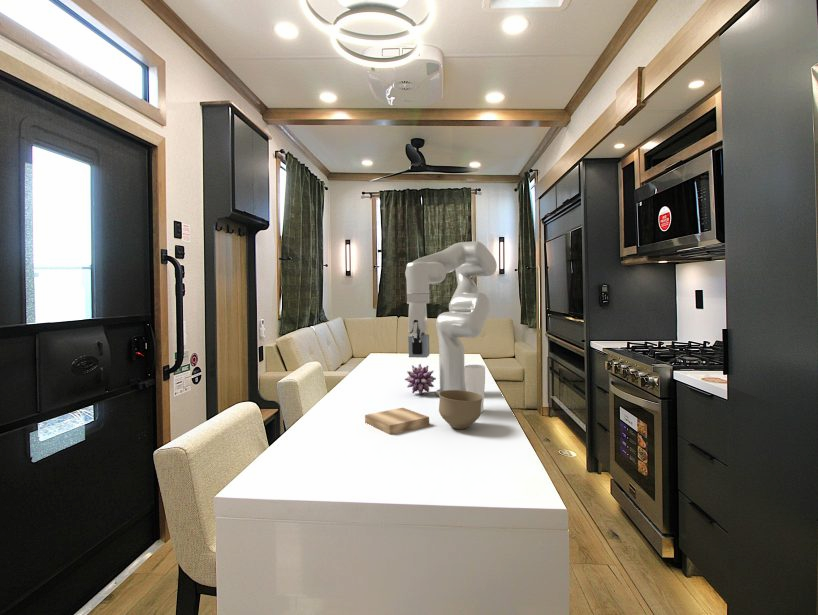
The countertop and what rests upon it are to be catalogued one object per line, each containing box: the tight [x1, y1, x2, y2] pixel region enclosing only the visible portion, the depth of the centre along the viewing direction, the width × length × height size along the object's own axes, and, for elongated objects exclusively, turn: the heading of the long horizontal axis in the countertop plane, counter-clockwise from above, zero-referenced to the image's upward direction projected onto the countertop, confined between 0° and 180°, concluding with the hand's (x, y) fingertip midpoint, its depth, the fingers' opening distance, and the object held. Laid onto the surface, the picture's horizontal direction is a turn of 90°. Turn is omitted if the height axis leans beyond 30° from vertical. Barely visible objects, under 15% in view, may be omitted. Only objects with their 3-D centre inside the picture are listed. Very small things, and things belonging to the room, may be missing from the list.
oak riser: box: [364, 407, 430, 435], centre depth 139 cm, size 14×14×3 cm
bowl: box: [438, 390, 482, 430], centre depth 134 cm, size 13×13×10 cm
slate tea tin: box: [407, 333, 431, 359], centre depth 154 cm, size 6×6×7 cm
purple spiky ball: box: [404, 363, 437, 395], centre depth 177 cm, size 12×12×12 cm
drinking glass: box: [464, 364, 486, 413], centre depth 151 cm, size 7×7×15 cm
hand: (419, 352), depth 154 cm, fingers closed on slate tea tin, 6 cm apart
